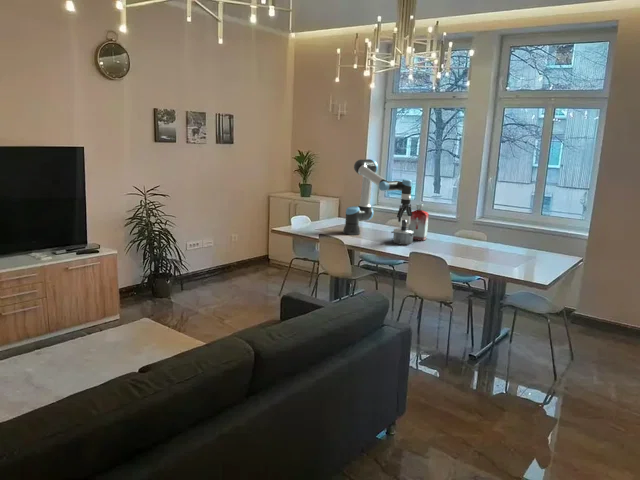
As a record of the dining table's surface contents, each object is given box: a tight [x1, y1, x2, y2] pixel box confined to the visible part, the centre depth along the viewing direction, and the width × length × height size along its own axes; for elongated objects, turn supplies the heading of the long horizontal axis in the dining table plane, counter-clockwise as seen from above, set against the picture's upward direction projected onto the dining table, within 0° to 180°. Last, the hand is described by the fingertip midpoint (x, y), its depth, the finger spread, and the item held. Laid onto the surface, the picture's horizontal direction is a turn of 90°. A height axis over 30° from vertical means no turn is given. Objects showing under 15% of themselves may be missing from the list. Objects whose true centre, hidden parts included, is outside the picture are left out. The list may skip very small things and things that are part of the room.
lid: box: [392, 219, 414, 234], centre depth 418 cm, size 16×16×10 cm
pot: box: [390, 230, 416, 246], centre depth 420 cm, size 21×16×9 cm
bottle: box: [408, 203, 430, 242], centre depth 433 cm, size 14×10×30 cm
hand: (404, 224), depth 418 cm, fingers open, 13 cm apart
